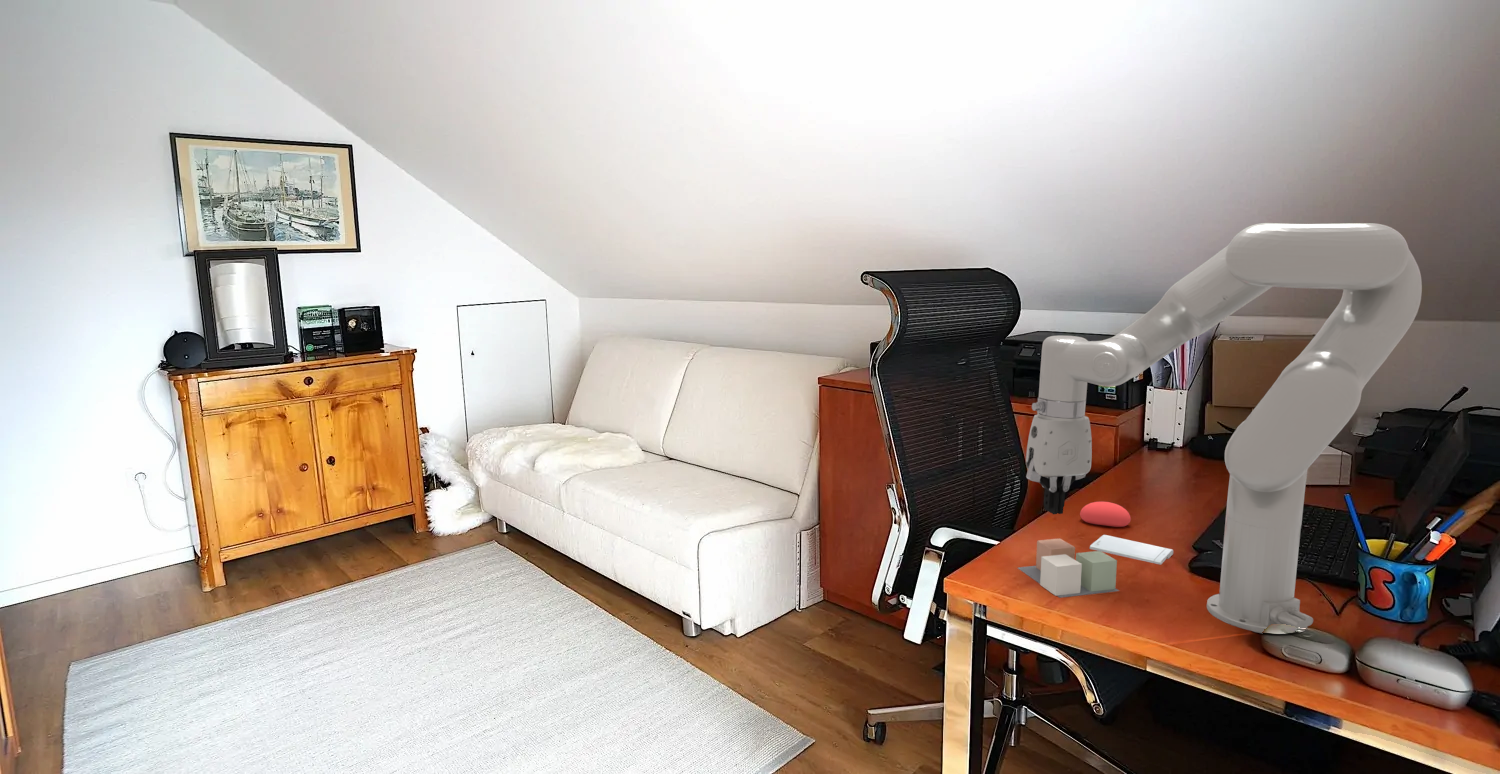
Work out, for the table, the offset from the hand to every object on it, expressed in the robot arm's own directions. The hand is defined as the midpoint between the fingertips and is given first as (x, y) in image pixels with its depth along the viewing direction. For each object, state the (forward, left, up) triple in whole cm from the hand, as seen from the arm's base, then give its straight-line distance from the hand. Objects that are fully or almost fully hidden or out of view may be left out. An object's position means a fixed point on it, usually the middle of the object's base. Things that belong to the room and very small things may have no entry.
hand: (1053, 511), depth 137 cm
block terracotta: (0, 0, -11) cm, 11 cm away
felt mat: (-4, 0, -11) cm, 12 cm away
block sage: (-7, -3, -11) cm, 14 cm away
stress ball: (+20, -25, -12) cm, 34 cm away
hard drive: (+5, -20, -12) cm, 24 cm away
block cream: (-8, +3, -11) cm, 13 cm away
